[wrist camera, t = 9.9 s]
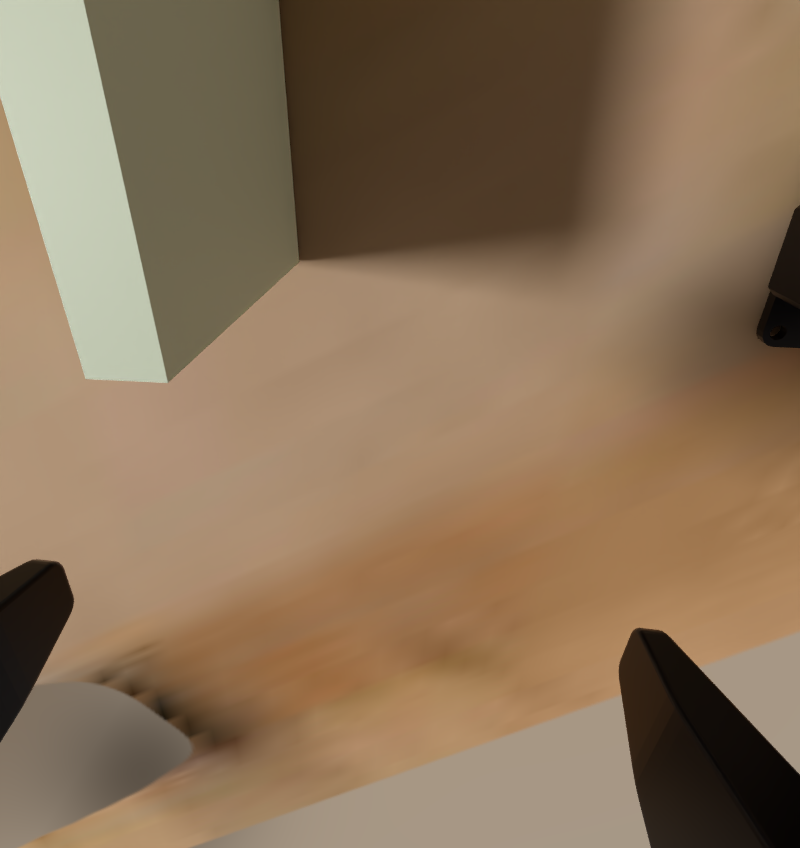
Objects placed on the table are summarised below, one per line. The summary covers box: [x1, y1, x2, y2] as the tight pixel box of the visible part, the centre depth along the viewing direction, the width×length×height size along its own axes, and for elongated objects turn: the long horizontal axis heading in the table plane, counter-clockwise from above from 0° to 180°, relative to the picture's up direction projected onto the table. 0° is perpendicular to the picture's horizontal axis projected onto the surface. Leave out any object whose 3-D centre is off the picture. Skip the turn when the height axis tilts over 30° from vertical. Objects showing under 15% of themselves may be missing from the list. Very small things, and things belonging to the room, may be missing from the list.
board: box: [0, 0, 299, 383], centre depth 12 cm, size 2×10×10 cm, turn 179°
